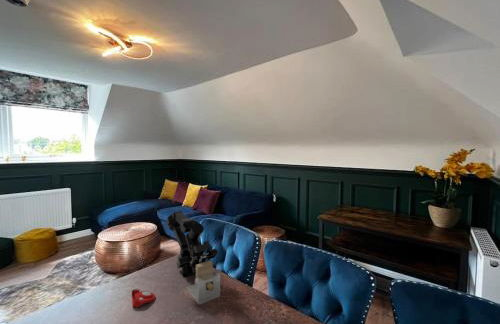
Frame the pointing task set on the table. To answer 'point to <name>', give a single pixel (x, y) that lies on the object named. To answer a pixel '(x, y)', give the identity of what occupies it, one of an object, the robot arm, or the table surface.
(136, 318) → the table surface
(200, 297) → the bearing block
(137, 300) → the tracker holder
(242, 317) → the table surface
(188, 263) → the robot arm
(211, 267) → the shaft carriage
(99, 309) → the table surface
